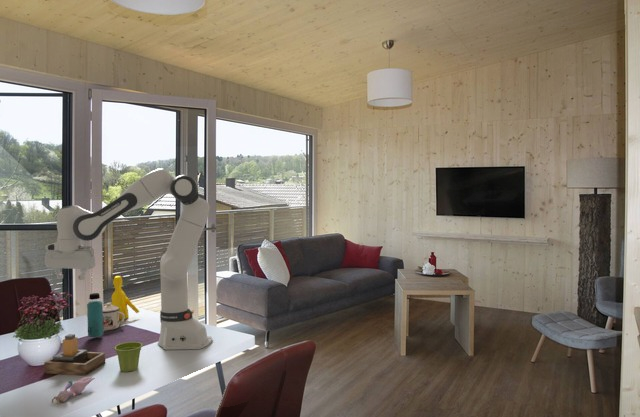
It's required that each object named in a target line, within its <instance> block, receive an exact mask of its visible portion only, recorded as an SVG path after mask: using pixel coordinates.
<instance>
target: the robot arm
mask: <svg viewBox="0 0 640 417" xmlns="http://www.w3.org/2000/svg"><path fill="white" fill-rule="evenodd" d="M167 194H169V195H172V196H173V198H175V199H176V200H177V201H179V202H180V203H181V204H183V208H182V210H181V213H180V216H179V218H178V220H177V223H176V225H175V228H174V230H173V232H172V235H171V238H170V240H169V244H168V246H167V249H166V251H165V252H164V254H162V256H161V258H160V263H159V265H160V266H159V267H160V268H159V270H160V273H159V274H160V303H161V304H160V307H161V308H160V309H161V310H160V314H159V315H160V316H159V320H160V333H159V339H158V341H157V345H158V346H159V347H160V348H161V347H162V349H163V350H166V351H169V350H201V349H203V348H206V347H208V346H209V345H211V343H212V342H213V338H212V336H210V335H208V334H207V328H206V326H205V325H204V324H202V323H201V322H200V321H198V320H197V319H196V318H194V317H193V314H194V313H195V312H194V311H195V310H190V308H189V287H188V272H189V270H190V269H189V268H190V266H191V264H192V261H193V258H194V255H195V252H196V249H197V247H198V246H197V245H198V243H199V240H200V238H201V237H202V233H203V231H204V229H205V226H206V224H207V221H208V217H209V213H210V203H209V202H208V201H207V200H205V198H202V197H201V196H199V185H198V182H197V181H196V180H195V178H193V177H192V176H190V175H187V174H181V175H178V176H176V177H174V176H172V174H171V173H170V172H169V171H168V170H166V169H164V168H157V169H155V170H152V171H150V172H148V173H146V174H144V175H143V176H141V177H139V178H138V179H136V180H135V181H134V182H132V183H131V184H130V185H129V186H128V187H127V188H125V190H123V192H122V193H121V194H120V195H119V196H118V197H117V198H115V199H114V200H113V201H111V202H110V203H109V204H107V205H105V206H103V207H101V208H100V209H99V210H96V211H95V212H92V211H89V210H86V209H85V208H83V207H81V206H79V205H76V204H75V205H68V206H64V207H63V206H62V207H61V208H60V209H58V211H57V216H56V229H57V232H58V233H57V234H58V235H57V237H56V238H57V239H56V241H55V242H52V243H49V244H47V245H46V246H45V250H46V252H45V254H44V265H45V267H46V268H47V269H53V271H54V273H55V275H56V279H57V280H63V279H64V274H63V273H62V272H61V270H62V269H69V270H70V269H75V270H76V269H77V270H79V269H80V272H81V273H80V274H79V275H78V276H77V277H78V278H77V279H78V280H79V281H83V280H85V275H86V273H87V271H88V270H91V269H94V268H95V267H96V258H95V250H94V248H93V247H92V246H90V245H83V241H88V242H89V241H92V240H95V239H96V238H97V237H98V236H101V235H102V234H103V233H105V231H106V229H107V226H108V224H110V223H112V222H113V221H114V220H116V219H118V218H119V217H120V216H122V215H124V214H126V213H128V212H131V211H133V210H134V211H135V210H137V209H141V208H144V207H147V206H148V205H150V204H151V203H154V202H155V201H156V200H158V199H159V198H162V197H163V196H164V195H167Z"/></svg>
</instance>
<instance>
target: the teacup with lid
mask: <svg viewBox="0 0 640 417" xmlns="http://www.w3.org/2000/svg"><path fill="white" fill-rule="evenodd" d="M111 303H112V302H107V303H106V305H104V306H102V307H103V324H104V325H103V327H104V329H103V331H110V330H111V331H112V330H115V329H117V328H119V327H120V323H123V321H124V320H125V319H124V318H125V315H124V314H123V313H122V312H119V307H117V306H114V305H111ZM119 314H121V315H122V316H123V318H122V320H120V319H119Z"/></svg>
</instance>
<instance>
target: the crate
mask: <svg viewBox="0 0 640 417" xmlns="http://www.w3.org/2000/svg"><path fill="white" fill-rule="evenodd" d="M87 361H88V362H86V363H68V362H53V357H52V358H50V359H48V360H46V361H44V362H43V363H44V374H53V375H68V376H84V377H87V376H88V375H89V374H91V373H92V372H94V371H95V370H97V369H98V368H100V367H102V366H103V365H105V364H106V352H99V351H98V352H96V351H95V352H94V351H87Z"/></svg>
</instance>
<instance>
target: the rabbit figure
mask: <svg viewBox="0 0 640 417" xmlns="http://www.w3.org/2000/svg"><path fill="white" fill-rule="evenodd" d="M95 379H96V378H95V377H91V376H84V377H82V378H80V379H79V380H76V381H75V382H73V381H72V379H71V380H68V381H67V383H68V384H67V385H66V386H65V387H64V390H61V391H59V393H58V395H55V396H53V398H51V403H52V404H55V402H54V400H55V401H57V404H58V405H60V403H66V402H67V401H68V398H71V397H72V396H73V397H75V396H76V395H79V394H81V393H82V392H84V390H85V388H86V387H87V386H88V385H89V384H90V383H91V382H92V381H94V380H95ZM68 389H69V390H68Z"/></svg>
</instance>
